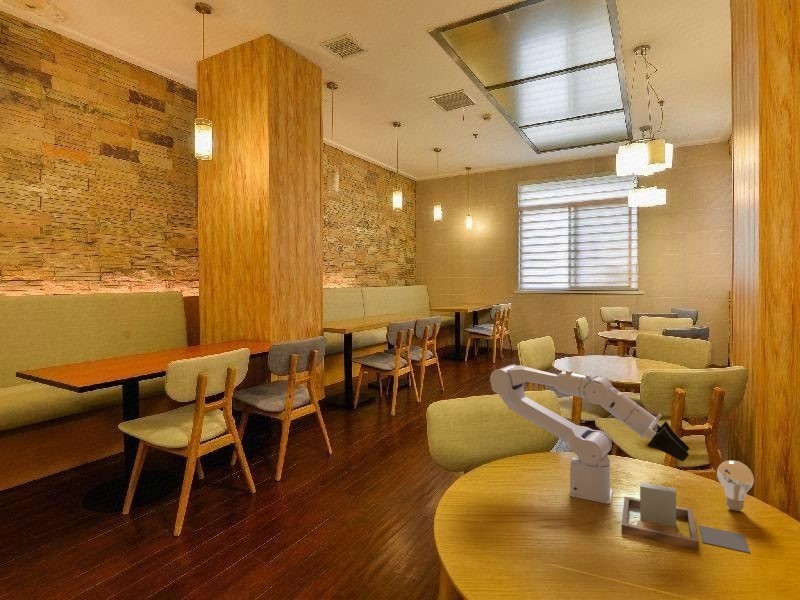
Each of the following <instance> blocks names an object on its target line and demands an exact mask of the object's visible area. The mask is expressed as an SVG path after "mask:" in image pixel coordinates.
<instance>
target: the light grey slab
mask: <svg viewBox="0 0 800 600" xmlns="http://www.w3.org/2000/svg"><path fill="white" fill-rule="evenodd" d="M676 489H677V488H674V487H669V486H668V487H667V486H662V485H657V484H652V483H646V482H639V491H640V493H639V499H640V509H639V511H640V512H639V513H640V515H639V519H640V521H645V522H649V523H654V524H660V525H665V526H671V527H675V528H676V527H677V516H676V506H677V492H676V491H677V490H676Z"/></svg>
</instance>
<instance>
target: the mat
mask: <svg viewBox="0 0 800 600" xmlns="http://www.w3.org/2000/svg"><path fill="white" fill-rule="evenodd" d="M698 529H699V533H700V538H701V542H702V544H706V545H710V546H714V547H715V546H716V547H720V548H724V549H727V550H729V549H730V550H734V551H736V552H737V551H738V552H743V553H747V554H751V550H750V547H749V545H748V543H747V540H746V537H745V535H744V533H743V534H742V533H738V532H734V531H729V530H723V529H719V528H713V527H709V526H704V525H698Z"/></svg>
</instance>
